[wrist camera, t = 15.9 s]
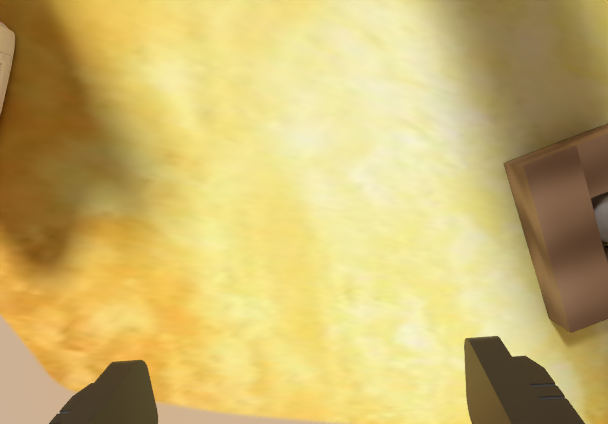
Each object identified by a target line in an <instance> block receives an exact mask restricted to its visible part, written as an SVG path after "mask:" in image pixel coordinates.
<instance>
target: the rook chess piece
mask: <svg viewBox="0 0 608 424" xmlns="http://www.w3.org/2000/svg"><path fill="white" fill-rule="evenodd" d="M591 202H592V206H593V210H594V214H595V217H596V221H597V225H598V229H599V233H600V236H601V240H602V242H606V243H608V192H606V193H603V194H600V195H598V196H595V197H593V198H591Z"/></svg>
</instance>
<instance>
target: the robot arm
mask: <svg viewBox="0 0 608 424" xmlns="http://www.w3.org/2000/svg"><path fill="white" fill-rule="evenodd" d="M464 350H465V373H466V396H467V404H468V410H469V415H470V419H471V422H472V424H585V423H584V422H583V420H582V419H581V418H580V416H579V415H578V414H577V412H576V411H575V409H574V408H573V407H572V405H571V404H570V403H569V401H568V400H567V399H565V397H564V394H563V393H562V392H561V390H560V389H559V388H558V386H556V385H555V382H554V381H553V379H552V378H551V377H550V375H549V374H548V373H547V371H546V370H545V368H543V367H542V366H540V365H539V364H537V363H536V362H534V361H533V360H531V359H530V358H528V357H526V356H516V357H512V356H511V355H510V353H509V352H508V350H507V348H506V347H505V345H504V344H503V342H502V341H501V339H500V338H499V337H498V336H491V337H477V338H466V339H465V344H464ZM49 424H158V414H157V408H156V403H155V399H154V394H153V390H152V385H151V381H150V376H149V372H148V368H147V365H146V363H145V362H144V361H143V360H133V361H118V362H112V363H111V364H110V365H109V366H108V367H107V368H106V369H105V371H104V372H103V373H102V374H101V375H100V377H99V378H98V379H97V380H96V381H95V383H91V384H89V385H88V386H87V387H85V388H84V389H82V390H81V391H80V392H78V393H77V394H75V395H74V396H72V398H71V399H70V400H69V401H68V402H67V403H66V405H65V406H64V407H63V408H62V409H61V410H60V414H57V415H56V416H55V417H54V418H53V419H52V421H51V422H50V423H49Z"/></svg>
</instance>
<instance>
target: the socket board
mask: <svg viewBox="0 0 608 424" xmlns="http://www.w3.org/2000/svg"><path fill="white" fill-rule="evenodd" d="M504 166H505V169H506V173H507V176H508V180H509V183H510V186H511V190H512V193H513V197H514V200H515V203H516V207H517V210H518V214H519V217H520V220H521V224H522V227H523V231H524V234H525V237H526V241H527V244H528V248H529V251H530V255H531V258H532V261H533V265H534V268H535V272H536V275H537V278H538V282H539V285H540V289H541V292H542V295H543V299H544V302H545V306H546V309H547V313H548V316H549V319H551V320H553V321H554V322H556V323H557V324H559V325H560V326H562V327H563V328H565V329H566V330H568V331H569V332H571V333H572V332H575V331H577V330H580V329H582V328H585V327H588V326H590V325H593V324H595V323H598V322H601V321H603V320H606V319H608V247H605V248H603V244H602V240H601V236H600V233H599V229H598V225H597V221H596V217H595V214H594V210H593V206H592V202H591V198H593V197H595V196H598V195H600V194H603V193H606V192H608V124H606V125H603V126H600V127H598V128H595V129H592V130H590V131H587V132H585V133H582V134H579V135H577V136H574V137H571V138H569V139H566V140H563V141H561V142H558V143H556V144H553V145H550V146H548V147H545V148H542V149H540V150H537V151H534V152H532V153H529V154H527V155H524V156H521V157H519V158H516V159H513V160H511V161H508V162H506V163H504Z"/></svg>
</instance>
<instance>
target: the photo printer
mask: <svg viewBox="0 0 608 424" xmlns="http://www.w3.org/2000/svg"><path fill="white" fill-rule="evenodd" d="M14 48H15V34H14V32H13V31H11V30H9V29H8V28H7V26H6V25H4V24H3V23H2V22H1V21H0V115H1V111H2V106H3V102H4V98H5V93H6V89H7V84H8V80H9V75H10V71H11V66H12V60H13V55H14Z"/></svg>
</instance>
